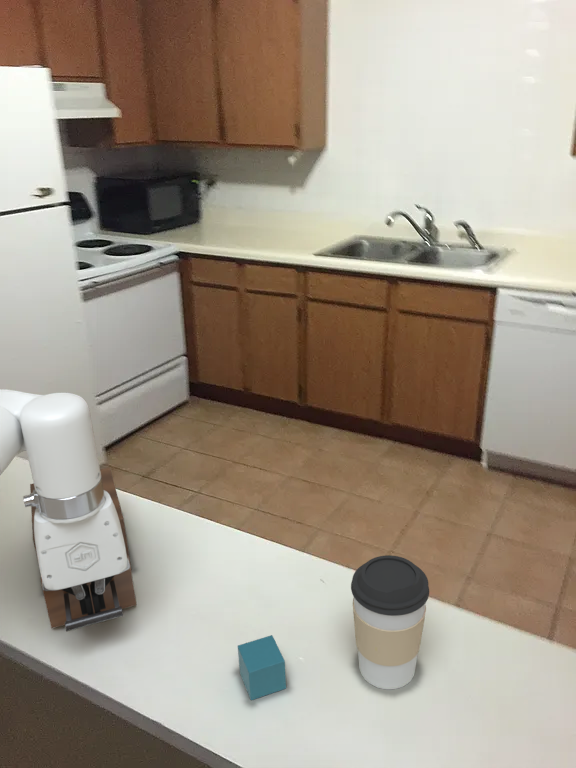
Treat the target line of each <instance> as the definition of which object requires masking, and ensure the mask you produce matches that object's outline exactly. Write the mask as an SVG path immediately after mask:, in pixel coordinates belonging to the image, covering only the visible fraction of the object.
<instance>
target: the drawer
mask: <svg viewBox="0 0 576 768" xmlns="http://www.w3.org/2000/svg"><path fill="white" fill-rule="evenodd" d="M129 556H130V555H129ZM129 556H128V555H127V558H128V560H129ZM130 562H131V559H130V560H129V564H130ZM131 568H132V566H131V567H130V568H129V569H128V570H126V571H124V572H122V573H120V574H118V575H117V574H116V575H114V577H113V578H112V580H111V581H110V582H109V583H108V585H107V586H106V587H105V591H104V593H103V596H104V602H105V607H106V609H102V610H100V611H101V612H98V613H95V611H94V606H93V601H92V595H91V590H90V584H91V582H88V583H86V584H87V585H88V586H89V591H90V596H91V601H92V606H93V612H94V614H91V615H88V614H85V615H82V612H81V607H80V602H79V600H78V599H76V597H75V595H72V594H70V593H67V592H65V591H63V590H57V591H44V590H43V588H42V587H41V589H42V594H43V597H44V603H45V607H46V611H47V616H48V619H49V620H48V621H49V625H50V628H51V629H55V628H58V627H62V626H65V631H66V632H69V631H75V630H77V629H81V628H84V627H88V626H91V625H92V626H93V625H95V624H98V623H103V622H105V621H109V620H113V619H117V618H119V617H120V618H121V617H123V616H124V612H123V610H124V609H126V608H131V607H135V606H137V599H136V592H135V586H134V580H133V574H132V570H131ZM40 586H42V577H41V576H40Z"/></svg>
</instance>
